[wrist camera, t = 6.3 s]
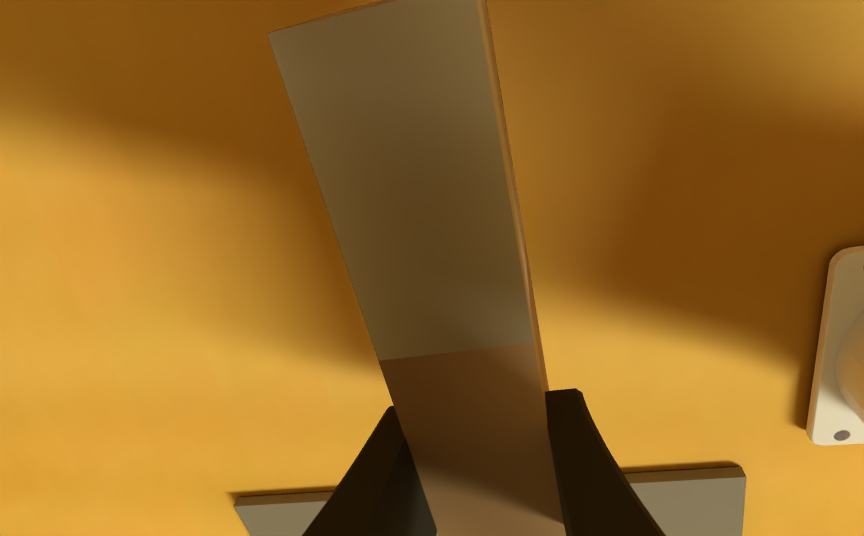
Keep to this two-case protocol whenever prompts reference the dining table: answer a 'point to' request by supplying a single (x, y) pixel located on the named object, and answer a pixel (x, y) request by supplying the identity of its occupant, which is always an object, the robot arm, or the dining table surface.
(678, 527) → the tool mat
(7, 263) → the dining table surface
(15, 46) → the dining table surface
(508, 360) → the two-tone flat stick
